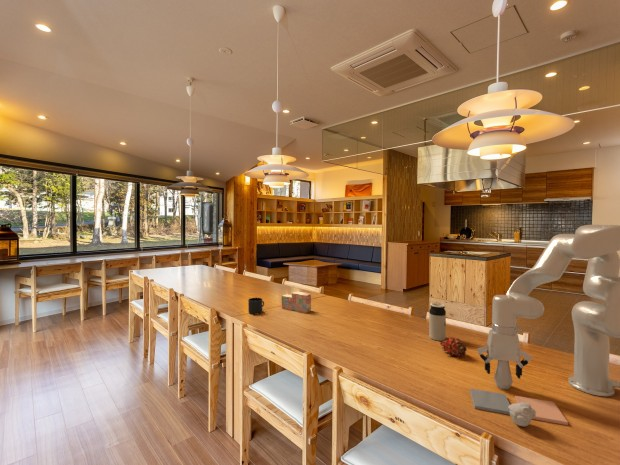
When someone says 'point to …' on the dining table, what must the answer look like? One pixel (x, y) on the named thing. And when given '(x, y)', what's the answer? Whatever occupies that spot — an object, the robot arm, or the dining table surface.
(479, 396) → the slate tile
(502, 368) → the salt shaker
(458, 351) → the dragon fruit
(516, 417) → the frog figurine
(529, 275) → the robot arm
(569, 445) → the dining table surface
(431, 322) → the travel mug
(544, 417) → the terracotta tile
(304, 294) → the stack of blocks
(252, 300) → the mug
